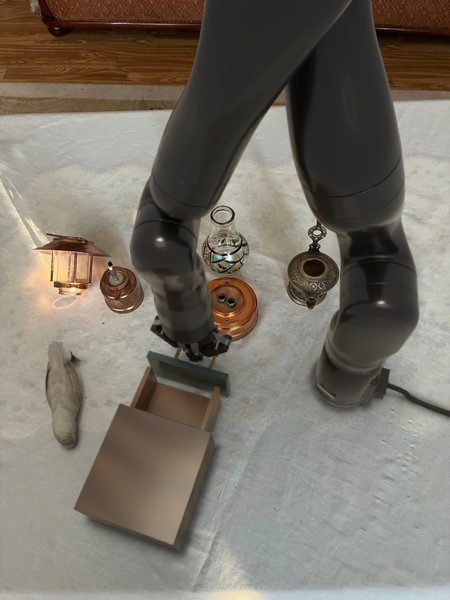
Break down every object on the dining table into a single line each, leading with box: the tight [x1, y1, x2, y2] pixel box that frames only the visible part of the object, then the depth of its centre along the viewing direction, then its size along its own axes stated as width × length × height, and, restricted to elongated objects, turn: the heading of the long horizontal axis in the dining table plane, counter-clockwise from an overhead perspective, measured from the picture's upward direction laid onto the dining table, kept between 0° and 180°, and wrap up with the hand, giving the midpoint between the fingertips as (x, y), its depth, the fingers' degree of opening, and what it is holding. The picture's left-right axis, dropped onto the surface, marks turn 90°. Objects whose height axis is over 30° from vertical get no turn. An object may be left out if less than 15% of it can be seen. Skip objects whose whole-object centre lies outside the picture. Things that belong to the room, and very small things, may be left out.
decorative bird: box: [44, 340, 82, 448], centre depth 85 cm, size 5×16×7 cm, turn 11°
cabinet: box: [73, 403, 216, 552], centre depth 77 cm, size 16×15×10 cm
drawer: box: [129, 347, 231, 433], centre depth 83 cm, size 19×13×8 cm
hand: (196, 357), depth 86 cm, fingers closed
